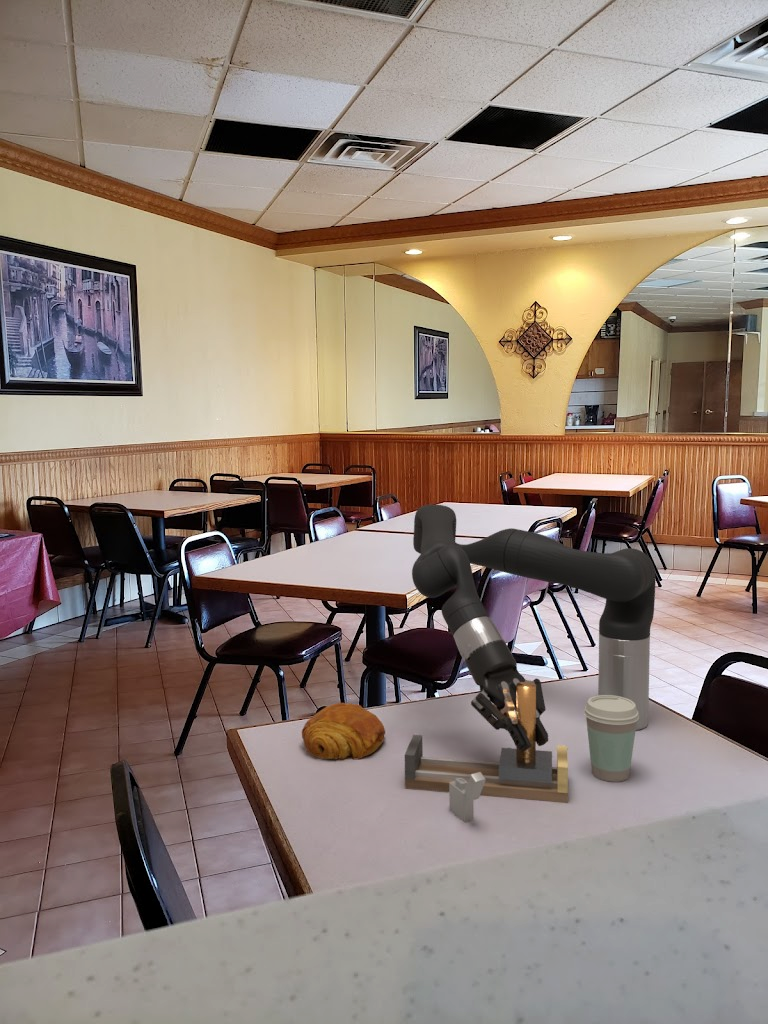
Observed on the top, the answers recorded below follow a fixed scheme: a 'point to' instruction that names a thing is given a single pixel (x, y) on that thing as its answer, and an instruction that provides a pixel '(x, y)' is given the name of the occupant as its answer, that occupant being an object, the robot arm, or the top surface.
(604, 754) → the coffee cup
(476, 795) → the lighter
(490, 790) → the rail track
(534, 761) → the carriage
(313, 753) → the croissant
